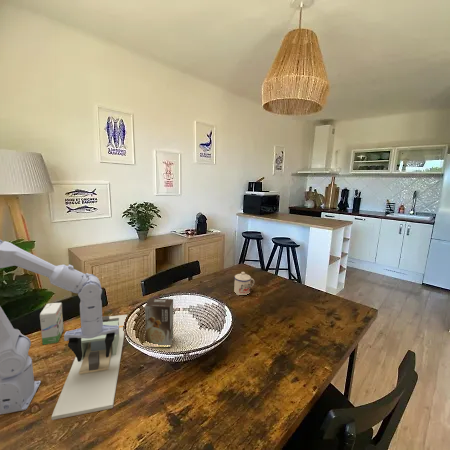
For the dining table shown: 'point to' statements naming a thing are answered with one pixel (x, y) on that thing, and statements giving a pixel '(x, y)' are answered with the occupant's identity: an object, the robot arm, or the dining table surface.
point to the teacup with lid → (242, 284)
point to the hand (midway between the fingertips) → (94, 357)
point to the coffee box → (159, 321)
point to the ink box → (51, 323)
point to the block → (98, 345)
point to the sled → (95, 358)
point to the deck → (90, 384)
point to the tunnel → (100, 339)
